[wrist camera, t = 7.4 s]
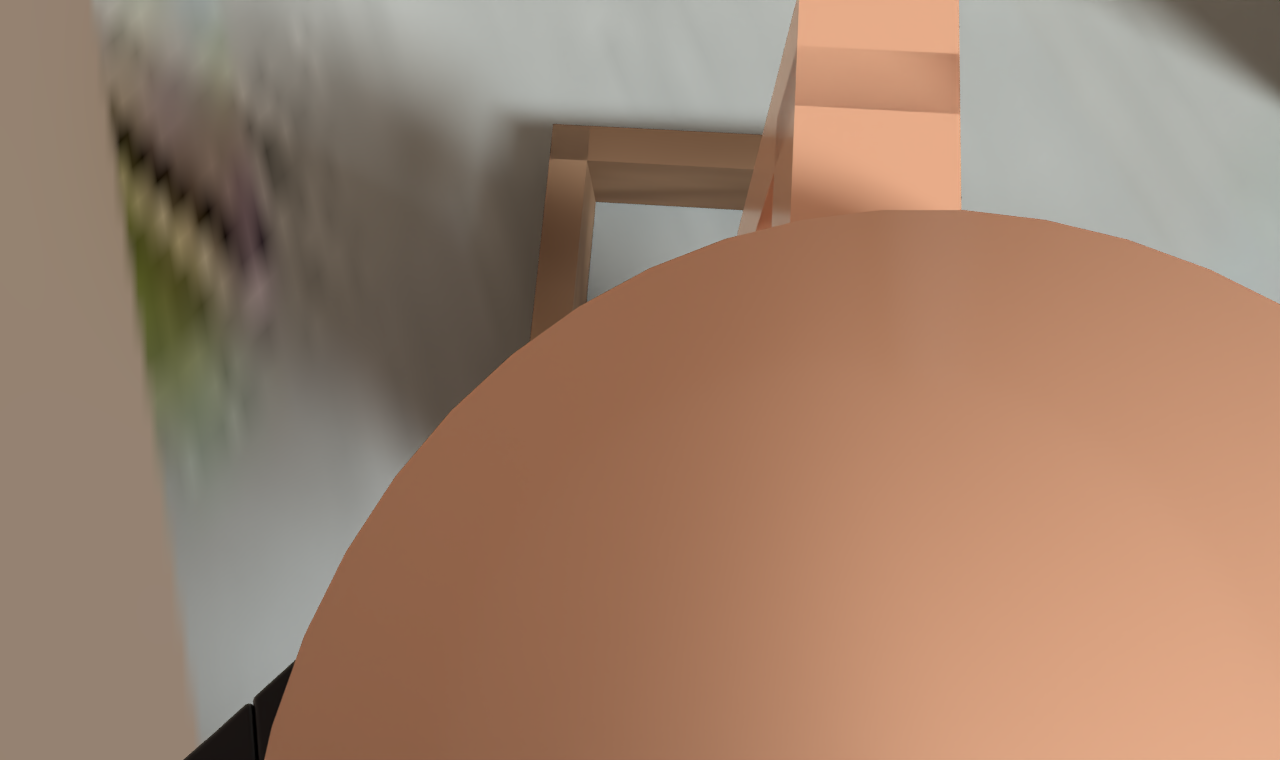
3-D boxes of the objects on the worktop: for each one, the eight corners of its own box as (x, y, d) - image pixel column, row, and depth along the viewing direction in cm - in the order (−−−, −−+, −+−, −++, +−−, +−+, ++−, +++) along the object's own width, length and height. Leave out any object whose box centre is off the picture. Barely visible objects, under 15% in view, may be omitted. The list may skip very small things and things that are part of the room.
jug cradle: (899, 439, 20) (932, 428, 17) (540, 414, 20) (523, 399, 18) (901, 187, 21) (932, 143, 19) (565, 168, 22) (552, 124, 19)
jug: (870, 778, 14) (2002, 2129, 2) (562, 749, 14) (81, 1801, 2) (875, 352, 16) (1523, -186, 4) (601, 333, 16) (430, -223, 4)
